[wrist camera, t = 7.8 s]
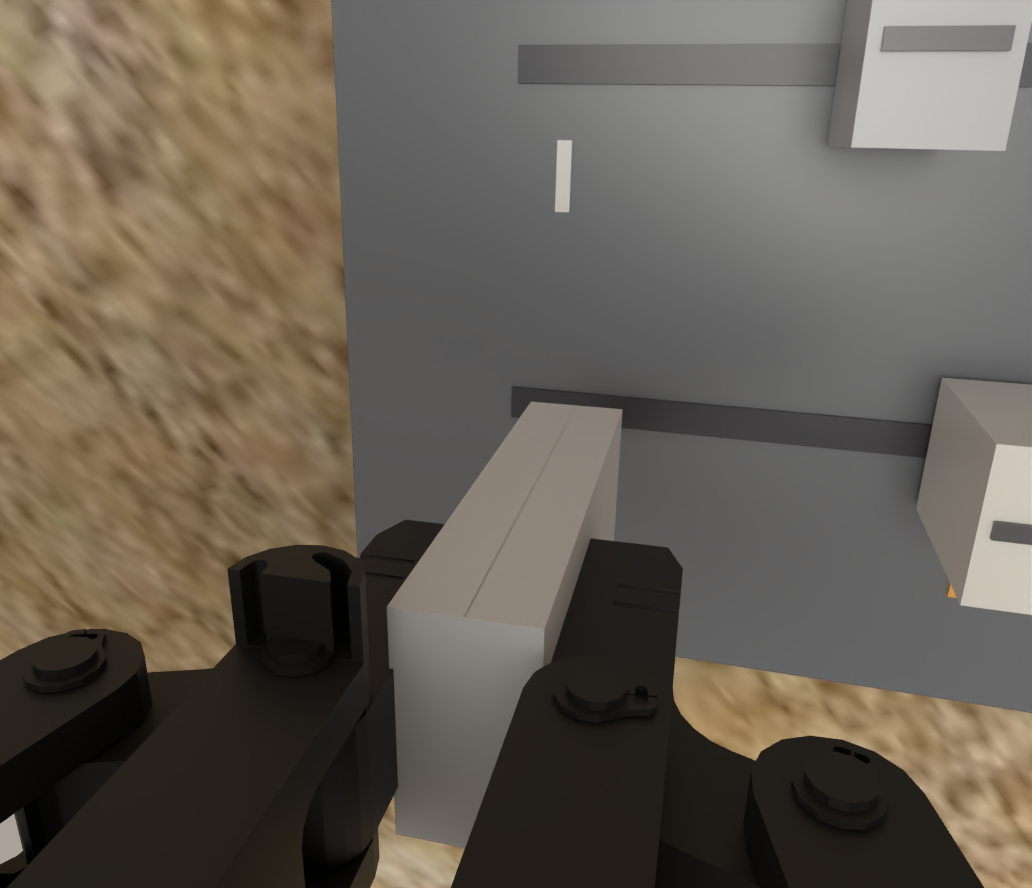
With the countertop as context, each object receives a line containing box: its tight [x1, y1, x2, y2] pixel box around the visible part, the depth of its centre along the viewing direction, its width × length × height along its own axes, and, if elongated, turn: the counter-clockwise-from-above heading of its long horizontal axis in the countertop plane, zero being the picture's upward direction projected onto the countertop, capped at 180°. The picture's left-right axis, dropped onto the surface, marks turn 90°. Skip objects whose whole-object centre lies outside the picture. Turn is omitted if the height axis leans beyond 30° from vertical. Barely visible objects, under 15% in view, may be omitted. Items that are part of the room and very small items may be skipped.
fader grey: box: [827, 0, 1032, 151], centre depth 13 cm, size 2×3×4 cm
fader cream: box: [916, 378, 1032, 615], centre depth 15 cm, size 2×3×4 cm
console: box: [331, 0, 1032, 713], centre depth 17 cm, size 22×18×5 cm
